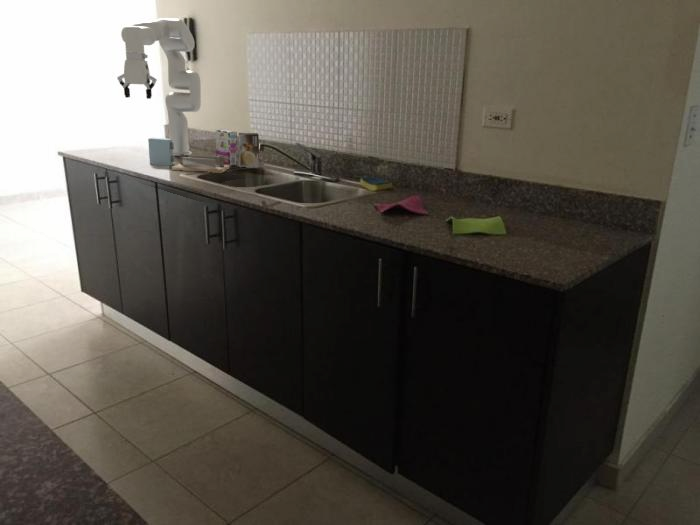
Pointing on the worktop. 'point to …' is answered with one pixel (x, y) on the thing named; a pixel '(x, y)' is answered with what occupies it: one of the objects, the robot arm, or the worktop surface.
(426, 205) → the worktop surface
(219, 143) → the candy bar box
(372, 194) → the worktop surface
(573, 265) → the worktop surface
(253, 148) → the coffee box
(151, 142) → the door panel
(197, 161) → the clear rectangular tray
